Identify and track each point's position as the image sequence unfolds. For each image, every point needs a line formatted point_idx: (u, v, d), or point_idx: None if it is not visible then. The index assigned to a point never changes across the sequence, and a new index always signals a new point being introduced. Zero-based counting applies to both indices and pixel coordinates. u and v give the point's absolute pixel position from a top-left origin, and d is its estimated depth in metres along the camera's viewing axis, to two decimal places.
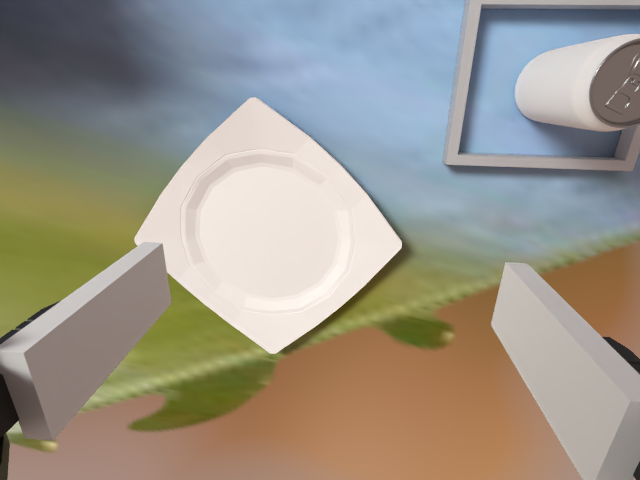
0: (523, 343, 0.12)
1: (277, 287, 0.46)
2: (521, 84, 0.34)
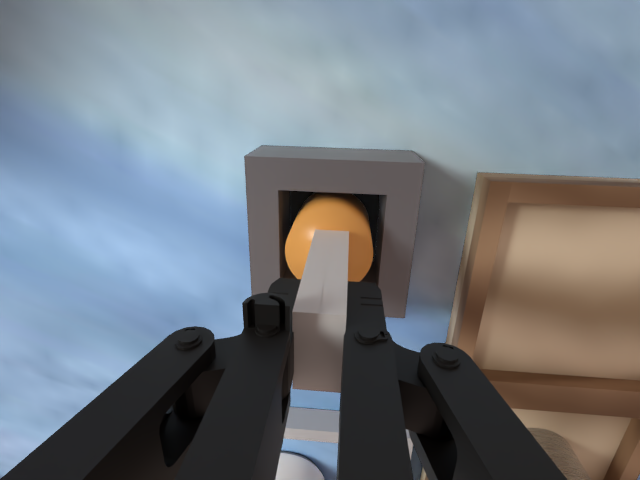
0: None
1: None
2: None
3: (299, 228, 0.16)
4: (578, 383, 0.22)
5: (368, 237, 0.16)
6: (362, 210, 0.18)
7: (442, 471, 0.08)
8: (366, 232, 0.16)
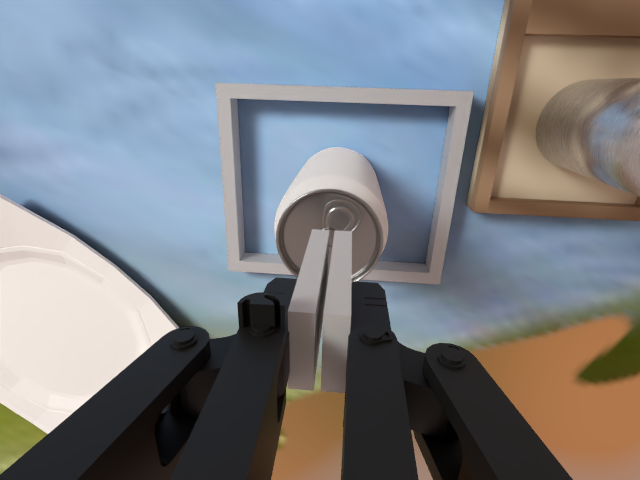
0: None
1: (82, 385, 0.41)
2: None
3: None
4: None
5: None
6: None
7: (447, 472, 0.08)
8: None
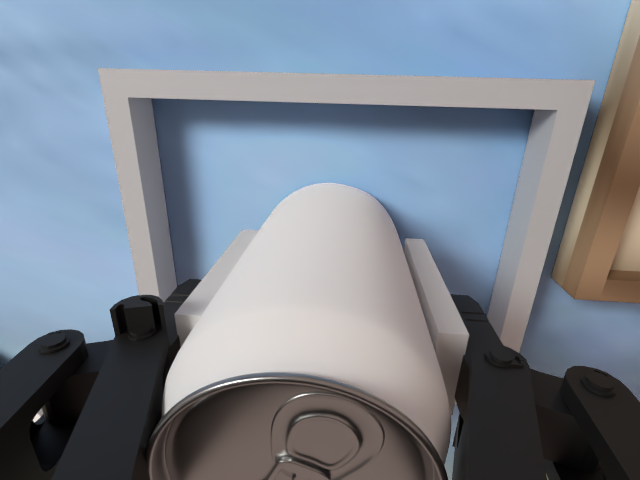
0: None
1: None
2: None
3: None
4: None
5: None
6: None
7: None
8: None
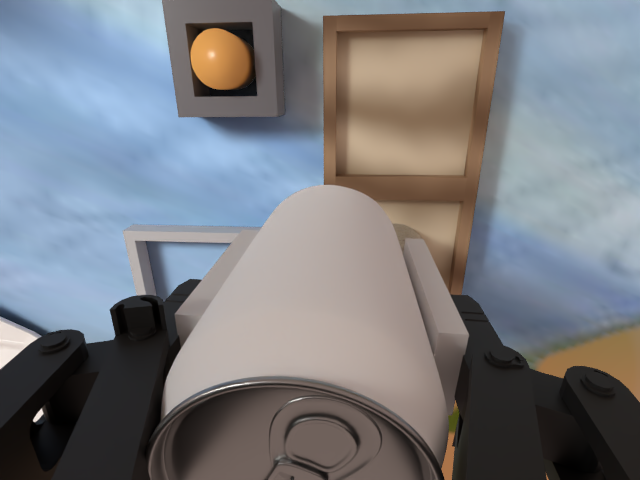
0: None
1: None
2: None
3: (197, 42, 0.26)
4: (412, 176, 0.32)
5: (239, 45, 0.26)
6: (245, 43, 0.28)
7: None
8: (238, 42, 0.26)
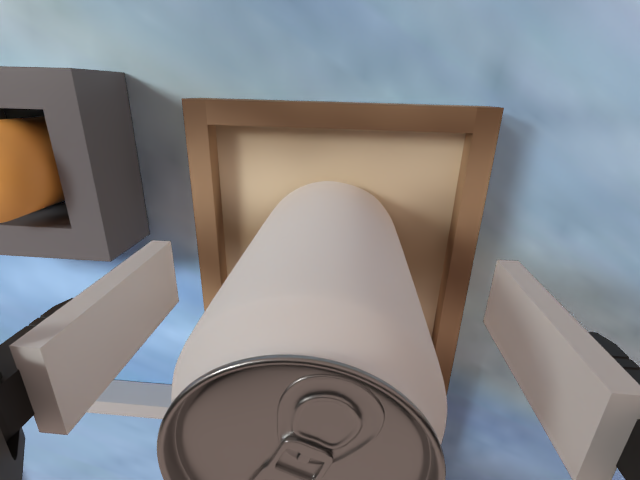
0: (513, 339, 0.12)
1: None
2: None
3: None
4: None
5: (14, 154, 0.14)
6: None
7: None
8: (10, 148, 0.14)
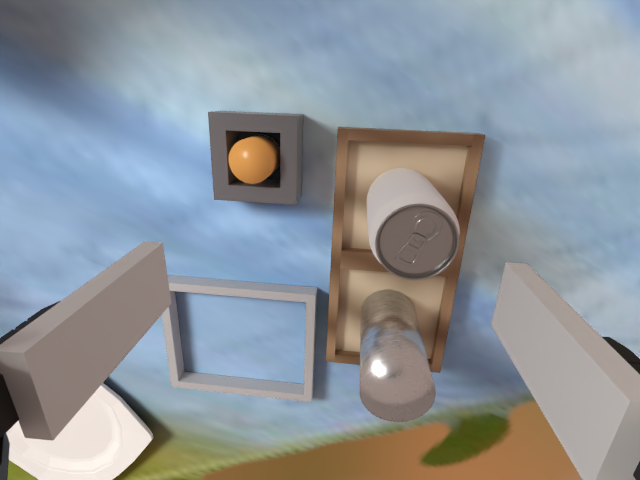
0: (523, 343, 0.12)
1: (73, 452, 0.56)
2: None
3: (235, 147, 0.33)
4: None
5: (269, 152, 0.32)
6: (273, 144, 0.35)
7: None
8: (268, 150, 0.32)
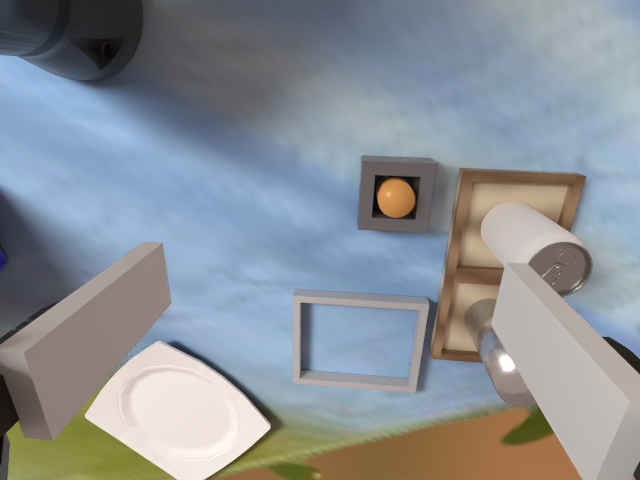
0: (523, 343, 0.12)
1: (191, 442, 0.64)
2: (484, 228, 0.43)
3: (385, 189, 0.40)
4: None
5: (413, 193, 0.40)
6: (408, 183, 0.42)
7: None
8: (412, 191, 0.40)
